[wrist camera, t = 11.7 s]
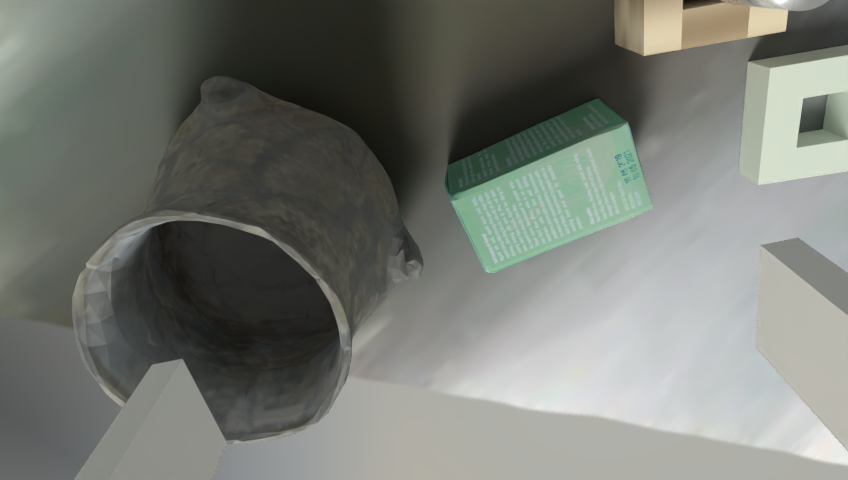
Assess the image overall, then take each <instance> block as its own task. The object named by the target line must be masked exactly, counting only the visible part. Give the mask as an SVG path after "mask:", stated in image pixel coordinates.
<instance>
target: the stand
mask: <svg viewBox="0 0 848 480" xmlns="http://www.w3.org/2000/svg"><path fill="white" fill-rule="evenodd" d="M826 94H828V96H827V103H826V109H825V116H824V122H823V129H821V130H815V131H808V132H802V133H798V132H799V125H800V118H801V110H802V103H803V98H808V97H814V96H820V95H826ZM845 171H848V45H843V46H837V47H832V48H826V49H820V50H814V51H808V52H802V53H796V54H791V55H785V56H779V57H773V58H767V59H761V60H756V61H750V62H748V67H747V78H746V90H745V101H744V113H743V124H742V135H741V147H740V158H739V170H738V172H739V173H740V174H742V175H743V176H745V177H746V178H748V179H749V180H751V181H752V182H754V183H756V184H757V185H762V184H768V183H774V182H781V181H787V180H794V179H800V178H807V177H813V176H819V175H826V174H832V173H839V172H845Z"/></svg>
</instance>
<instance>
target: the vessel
mask: <svg viewBox="0 0 848 480" xmlns="http://www.w3.org/2000/svg"><path fill="white" fill-rule="evenodd" d="M200 90H201V102H200V103H199V105H198V106H197V107H196V108H195V110H194V111H193V112H192V114H191V115H190V116H189V117H188V118H187V119H186V120H185V121H184V122H183V123H182V124H181V126H180V127H179V129H178V130H177V131H176V133H175V134H174V136H173V137H172V139H171V140H170V142H169V145H168V147H167V150H166V152H165V155H164V157H163V159H162V161H161V163H160V165H159V168H158V172H157V175H156V178H155V181H154V183H153V186H152V190H151V193H150V196H149V200H148V204H147V208H146V210H145V211H144V213H143V214H142V215H140V216H138V217H136V218H134V219H131V220H129V221H127V222H125V223H124V224H123V225H122V226H121V227H119V228H118V229H117V230H116V231H115V232H113V233H112V234H111V235H110V236H109V237H108V238H106V239H105V240H104V241H103V242H102V243H101V244H99V245H98V246H97V248H96V249H95V251H94V252H93V254H92V255H91V257H90V258H89V260H88V261H87V263H86V267H85V268H84V269H83V271H82V272H81V273H80V275H79V278H78V281H77V284H76V287H75V290H74V293H73V296H72V318H73V325H74V331H75V337H76V341H77V346H78V350H79V353H80V355H81V358H82V360H83V362H84V365H85V367H86V368H87V369H88V370H89V372H90V373H91V374H92V375H93V377H94V378H95V379H96V380H97V381H98V383H99V384H100V386H101V387H102V389H103V390H104V391H105V393H106V394H107V395H109V396H110V397H111V398H112V399H113V400H114V401H115V402H116V403H117V404H119V405H120V406H121V407H124V405H125V404H126V402H127V401H128V399H129V398H130V397H131V395H132V394H133V392H134V391H135V389H136V388H137V386H138V385H139V383H140V382H141V380H142V379H143V377H144V376H145V374H146V373H147V371H148V370H149V369H150V367H151V366H152V365H153V364H158V363H163V362H168V361H173V360H179V359H183V361H184V363H185V364H186V366H187V368H188V370H189V372H190V374H191V376H192V378H193V380H194V382H195V383H196V385H197V387H198V389H199V391H200V393H201V395H202V397H203V399H204V401H205V402H206V404H207V406H208V408H209V410H210V412H211V414H212V416H213V418H214V419H215V421H216V423H217V425H218V427H219V429H220V431H221V433H222V435H223V437H224V438H225V440H226V442H227V444H237V443H245V444H249V443H254V442H259V441H263V440H271V439H278V438H281V437H285V436H289V435H292V434H295V433H298V432H300V431H303V430H305V429H307V428H309V427H310V426H312V425H314V424H316V423H317V422H319V421H320V420H321V419H322V418H323V417H324V416H325V415H326V414H327V413H328V412H329V410H330V409H331V407H332V405H333V403H334V401H335V400H336V398H337V396H338V394H339V392H340V391H341V389H342V387H343V386H344V384H345V382H346V379H347V376H348V373H349V368H350V362H351V356H352V338H353V336H354V335H355V333H356V332H357V331H358V329H359V328H360V327H361V325H362V324H363V323H364V322H365V321H366V320H367V319H368V318H369V317H370V316H371V315H372V313H373V312H374V311H375V310H376V309H377V308H378V307H379V306H380V305H381V303H382V302H383V301H384V300H385V298H386V297H387V295H388V293H389V292H390V290H391V289H392V288H393V287H394V286H395V285H396V284H397V283H400V282H402V281H404V280H410V279H416V278H418V277H420V275H421V272H422V269H423V259H422V256H421V253H420V250H419V247H418V246H417V244H416V243H415V241H414V240H413V238H412V237H411V235H410V234H409V232H408V230H407V229H406V227H405V225H404V223H403V221H402V219H401V216H400V211H399V206H398V202H397V199H396V196H395V192H394V189H393V186H392V183H391V181H390V178H389V177H388V175H387V173H386V171H385V170H384V168H383V166H382V164H381V163H380V162H379V161H378V160H377V158H376V157H375V155H374V154H373V152H372V151H371V150H370V149H369V147H368V146H367V145H366V144H365V142H364V141H363V140H362V139H361V137H360V136H359V135H358V134H357V133H356V132H355V131H354V130H352V129H351V128H349V127H347V126H345V125H344V124H342V123H340V122H338V121H336V120H334V119H332V118H330V117H328V116H326V115H323V114H320V113H317V112H314V111H311V110H309V109H306V108H303V107H301V106H298V105H296V104H293V103H290V102H287V101H284V100H281V99H278V98H275V97H273V96H271V95H269V94H267V93H264V92H262V91H260V90H259V89H257V88H255V87H254V86H252V85H250V84H248V83H245V82H242V81H239V80H236V79H233V78H231V77H228V76H214V77H212V78H209V79H207V80H204V82H203V83H202V85H201V88H200Z"/></svg>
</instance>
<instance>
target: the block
mask: <svg viewBox="0 0 848 480" xmlns="http://www.w3.org/2000/svg"><path fill="white" fill-rule="evenodd" d="M787 16H788V10H781V9H771V8H761V7H751V6H742V5H732V4H728V3H725V2H723V1H721V0H614V21H615V45H618V46H620V47H623V48H625V49H628V50H630V51H633V52H635V53H638V54H640V55H643V56H646V55H651V54H657V53H663V52H669V51H674V50H680V49H686V48H692V47H697V46H703V45H709V44H715V43H720V42H726V41H732V40H738V39H743V38H749V37H755V36H761V35H766V34H772V33H778V32H784V31H786V24H787Z"/></svg>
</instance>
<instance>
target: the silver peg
mask: <svg viewBox="0 0 848 480" xmlns="http://www.w3.org/2000/svg"><path fill="white" fill-rule="evenodd" d="M721 1H723V2H725V3H728V4H732V5H742V6H751V7H761V8H771V9H781V10H791V11H807V10H811V9H814V8H817V7H819V6H821V5H823V4H825V3H826V2H828V1H829V0H721Z"/></svg>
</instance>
